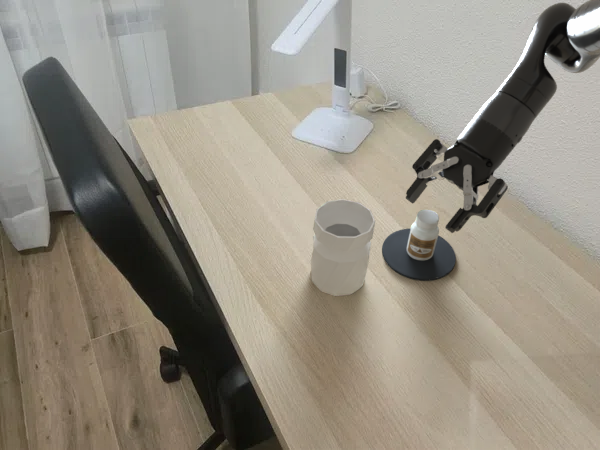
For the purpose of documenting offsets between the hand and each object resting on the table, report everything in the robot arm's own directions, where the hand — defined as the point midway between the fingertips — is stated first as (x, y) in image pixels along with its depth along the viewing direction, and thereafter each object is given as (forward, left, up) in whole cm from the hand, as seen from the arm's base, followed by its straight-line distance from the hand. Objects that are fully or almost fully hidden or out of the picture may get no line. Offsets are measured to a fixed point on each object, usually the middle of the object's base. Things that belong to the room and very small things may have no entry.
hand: (428, 215), depth 85 cm
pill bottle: (0, 0, -8) cm, 8 cm away
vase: (+14, +4, -8) cm, 17 cm away
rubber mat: (0, 0, -8) cm, 8 cm away
